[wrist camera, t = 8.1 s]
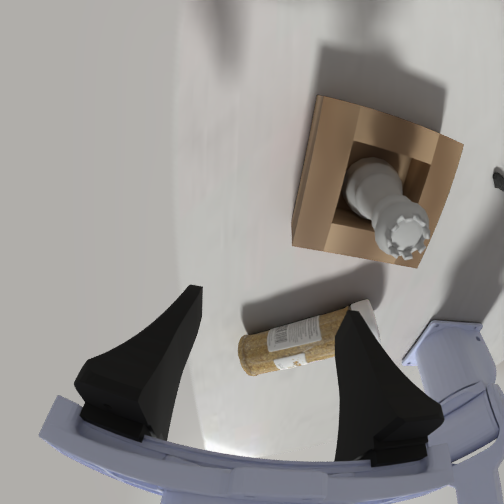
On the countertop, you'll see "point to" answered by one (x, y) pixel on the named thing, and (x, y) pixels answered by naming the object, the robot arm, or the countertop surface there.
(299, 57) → the countertop surface
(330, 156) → the bore block
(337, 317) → the sprinkles bottle
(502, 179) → the chef's knife
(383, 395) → the robot arm
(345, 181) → the rook chess piece
